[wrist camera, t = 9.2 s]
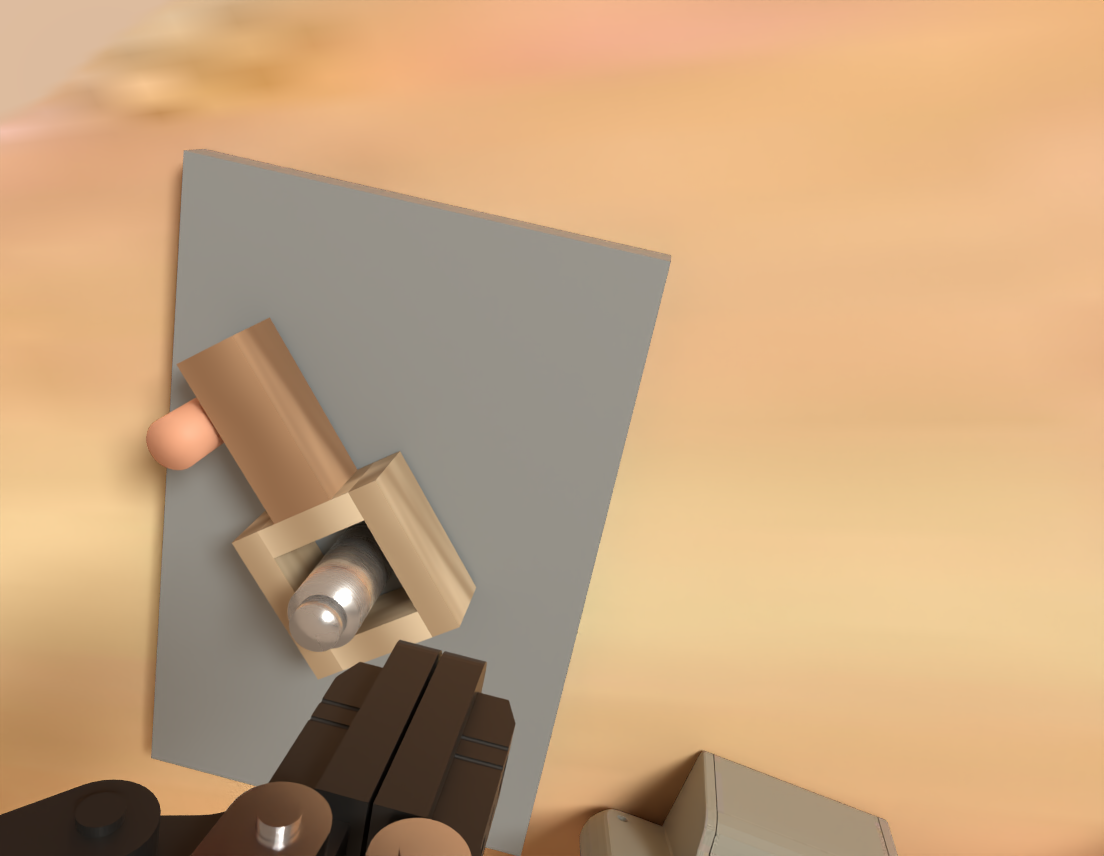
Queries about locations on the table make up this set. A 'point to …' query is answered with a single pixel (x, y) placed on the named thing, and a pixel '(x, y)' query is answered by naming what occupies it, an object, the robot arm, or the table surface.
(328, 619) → the post
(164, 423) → the salmon orange capsule
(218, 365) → the square frame with handle
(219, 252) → the jig deck
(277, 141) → the table surface
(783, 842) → the digital clock
